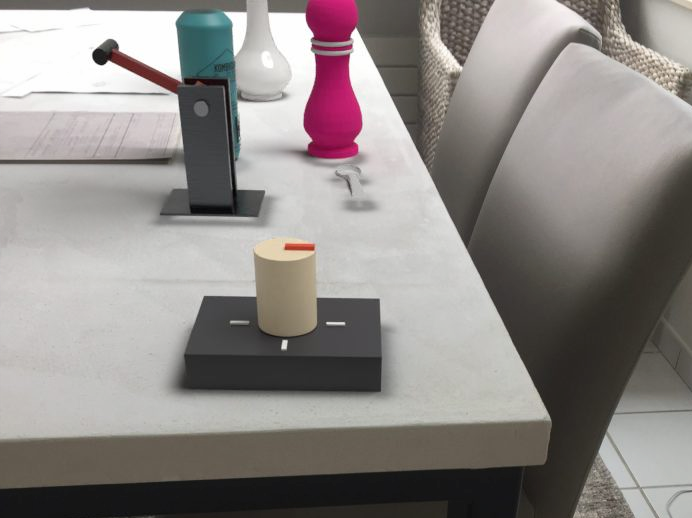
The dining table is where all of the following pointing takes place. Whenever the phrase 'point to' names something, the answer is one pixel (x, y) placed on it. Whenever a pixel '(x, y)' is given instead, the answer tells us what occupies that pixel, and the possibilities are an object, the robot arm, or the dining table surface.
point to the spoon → (352, 180)
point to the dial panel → (285, 348)
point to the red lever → (134, 65)
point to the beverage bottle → (209, 52)
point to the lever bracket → (209, 154)
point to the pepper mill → (332, 81)
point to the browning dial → (286, 286)
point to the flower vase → (260, 58)
